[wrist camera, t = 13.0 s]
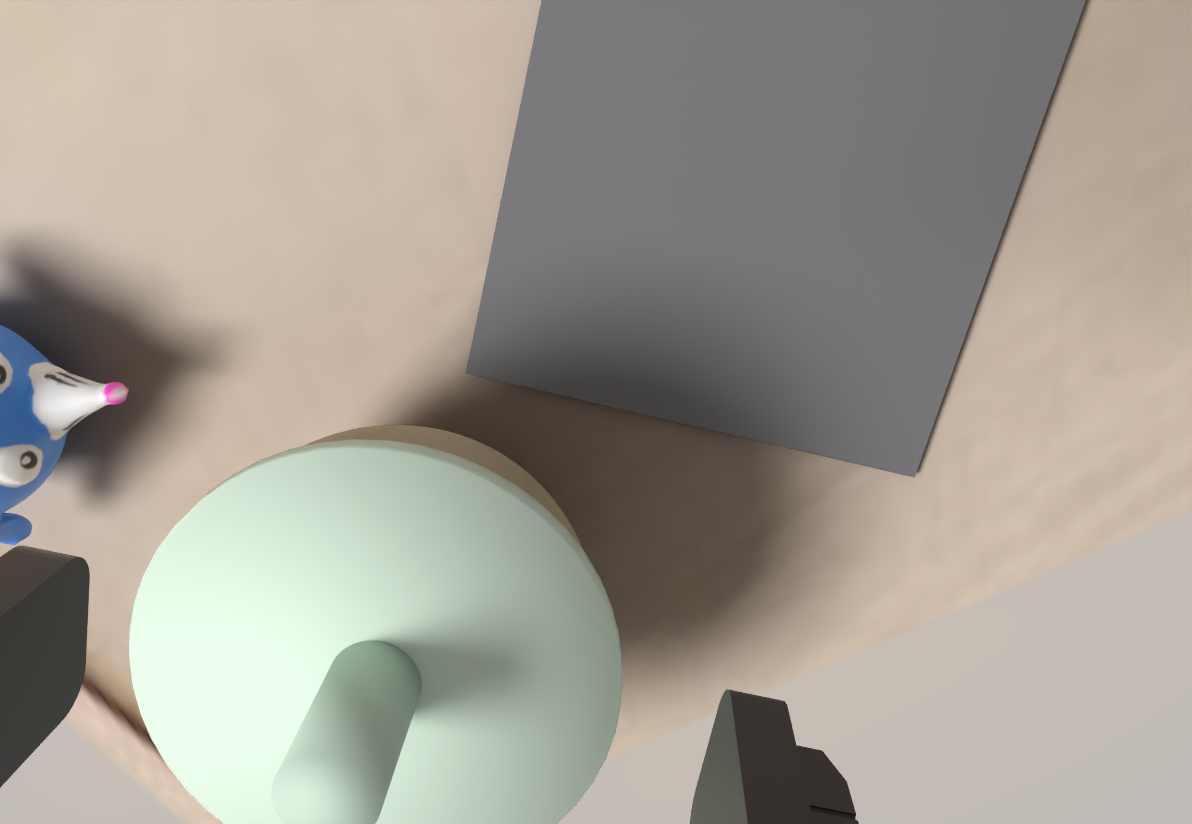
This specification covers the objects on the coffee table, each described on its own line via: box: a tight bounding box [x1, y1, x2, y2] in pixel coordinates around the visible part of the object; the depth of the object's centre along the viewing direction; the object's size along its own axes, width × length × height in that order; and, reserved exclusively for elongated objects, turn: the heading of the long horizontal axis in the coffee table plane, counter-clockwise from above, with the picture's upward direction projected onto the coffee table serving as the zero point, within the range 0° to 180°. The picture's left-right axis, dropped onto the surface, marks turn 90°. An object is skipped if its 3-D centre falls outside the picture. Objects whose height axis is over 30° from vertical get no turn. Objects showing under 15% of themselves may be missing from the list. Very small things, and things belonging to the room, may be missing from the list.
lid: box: [129, 439, 622, 824], centre depth 33 cm, size 17×17×7 cm
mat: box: [466, 0, 1086, 477], centre depth 41 cm, size 20×20×1 cm
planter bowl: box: [305, 425, 583, 549], centre depth 41 cm, size 16×16×11 cm
